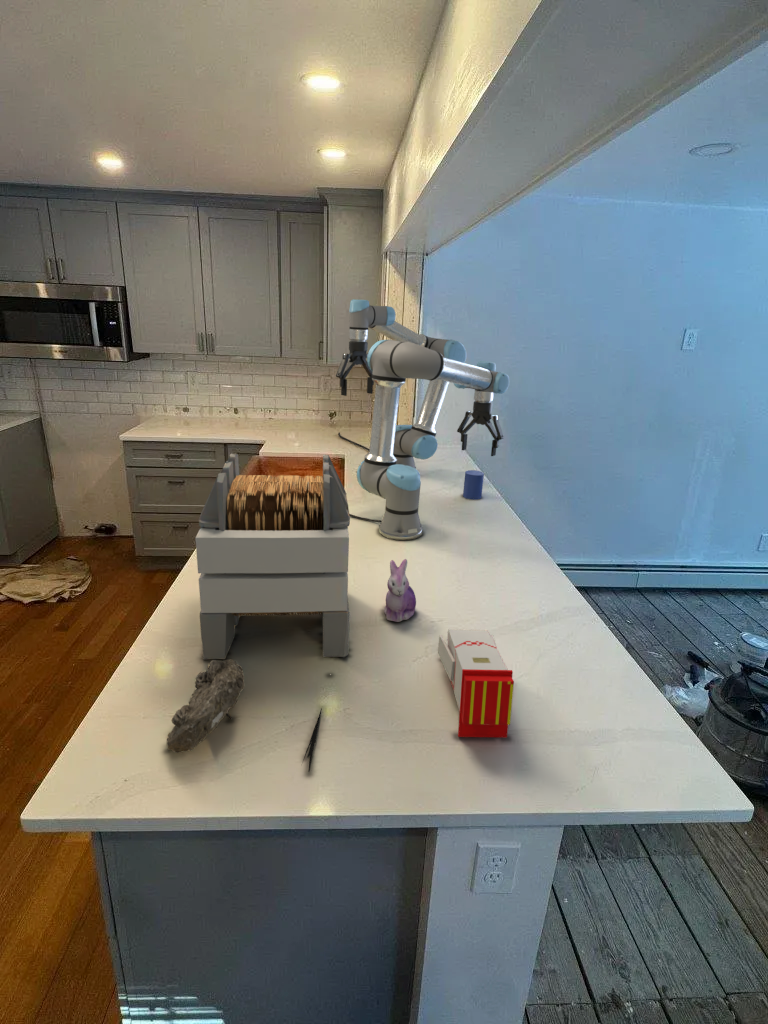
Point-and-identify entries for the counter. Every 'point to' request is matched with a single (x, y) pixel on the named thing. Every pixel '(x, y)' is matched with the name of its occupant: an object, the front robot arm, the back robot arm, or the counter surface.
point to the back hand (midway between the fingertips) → (357, 394)
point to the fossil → (206, 705)
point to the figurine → (399, 594)
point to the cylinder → (473, 484)
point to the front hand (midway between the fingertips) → (478, 452)
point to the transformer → (273, 554)
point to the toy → (478, 682)
